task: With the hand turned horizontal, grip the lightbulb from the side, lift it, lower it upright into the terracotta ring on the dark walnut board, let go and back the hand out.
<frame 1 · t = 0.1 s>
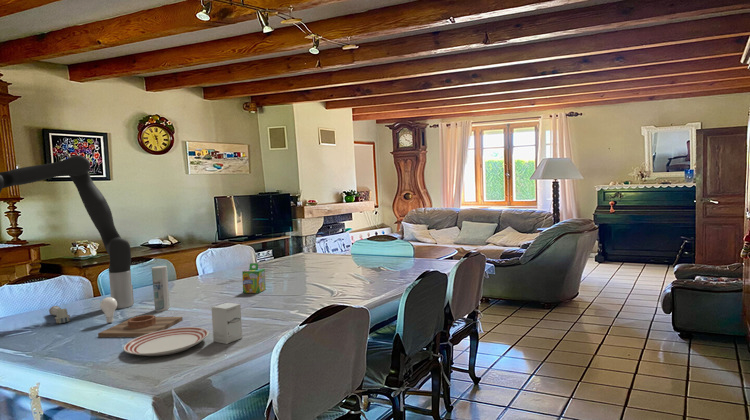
dinner plate: (168, 347, 169), on the table
holder board: (142, 328, 194), on the table
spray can: (162, 310, 224), on the table
lightbulb: (110, 323, 205), on the table
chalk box: (254, 291, 255), on the table
supplement box: (228, 340, 174), on the table
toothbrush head: (59, 319, 217), on the table
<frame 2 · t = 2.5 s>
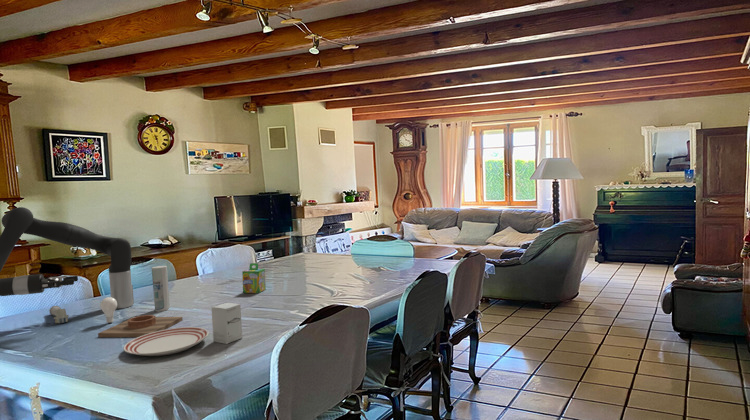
hand: (75, 280, 200), 20 cm above the table, tool horizontal, fingers open, 8 cm apart
nothing on the table moved.
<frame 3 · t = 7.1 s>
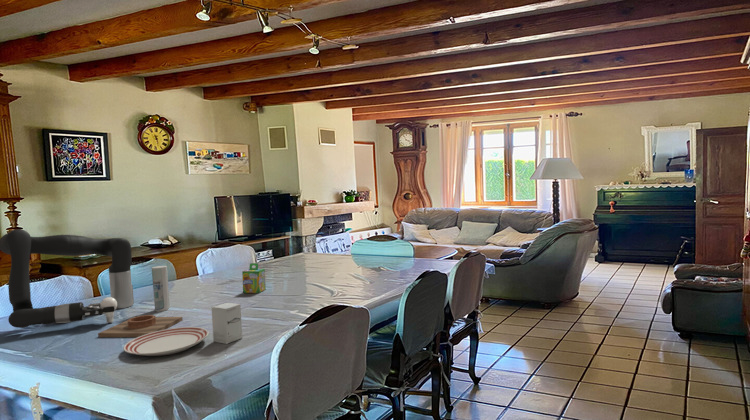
hand: (115, 307, 205), 7 cm above the table, tool horizontal, fingers closed on lightbulb, 6 cm apart
lightbulb: (110, 323, 205), on the table, touching gripper
everything else where it was.
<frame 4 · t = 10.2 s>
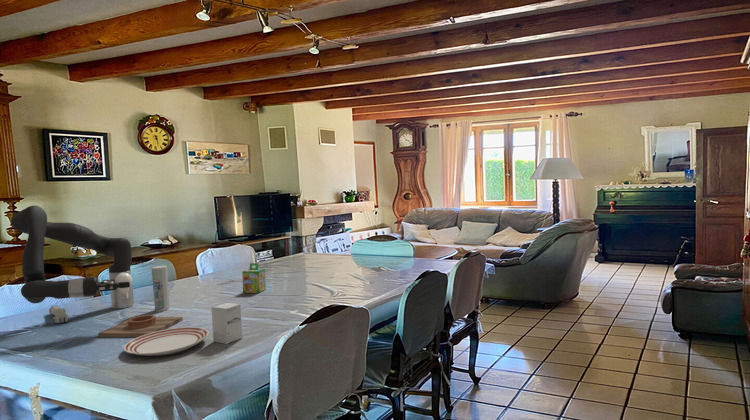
hand: (130, 283, 198), 18 cm above the table, tool horizontal, fingers closed on lightbulb, 6 cm apart
lightbulb: (124, 299, 197), point 11 cm above the table, touching gripper
everything else where it was.
when the fingers open (10 cm above the table, at t = 13.4 s): lightbulb drops 2 cm, resting on holder board.
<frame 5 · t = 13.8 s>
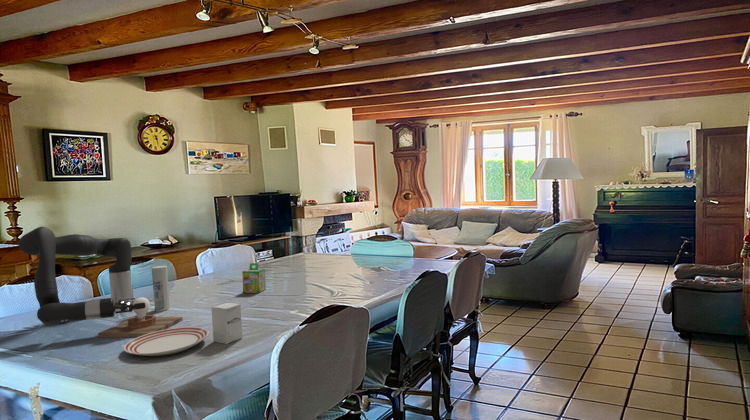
hand: (145, 303, 194), 10 cm above the table, tool horizontal, fingers open, 8 cm apart
lightbulb: (141, 325, 194), point 1 cm above the table, touching holder board
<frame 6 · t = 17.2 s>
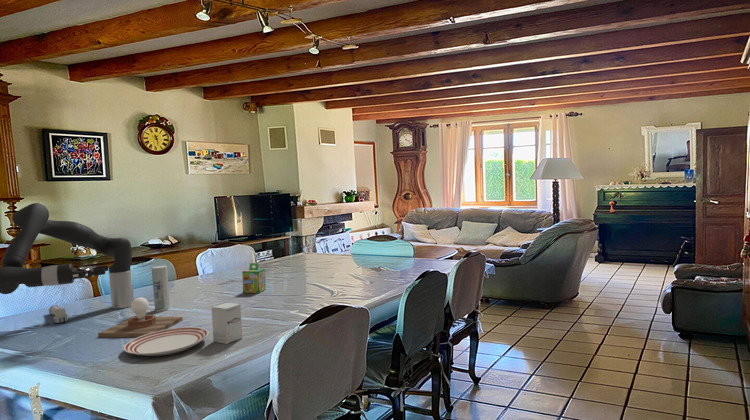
hand: (106, 269, 189), 25 cm above the table, tool horizontal, fingers open, 8 cm apart
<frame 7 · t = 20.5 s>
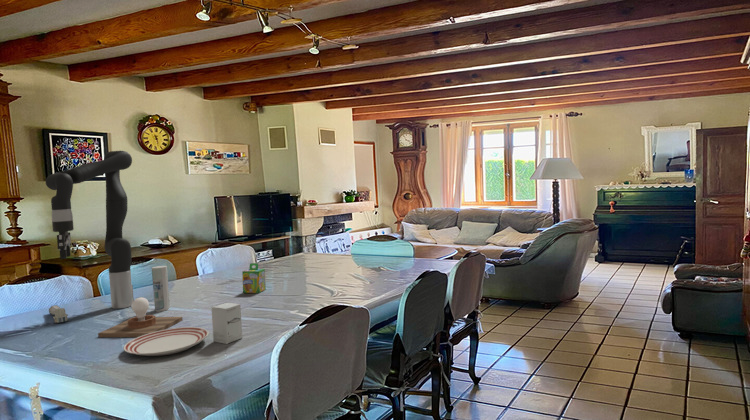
hand: (65, 257, 208), 28 cm above the table, tool pointing down, fingers open, 8 cm apart
at the end: lightbulb 0.1 cm off-centre on the holder board, point 1.3 cm above the holder board's base; lightbulb tilted 0°; the gripper is holding nothing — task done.
